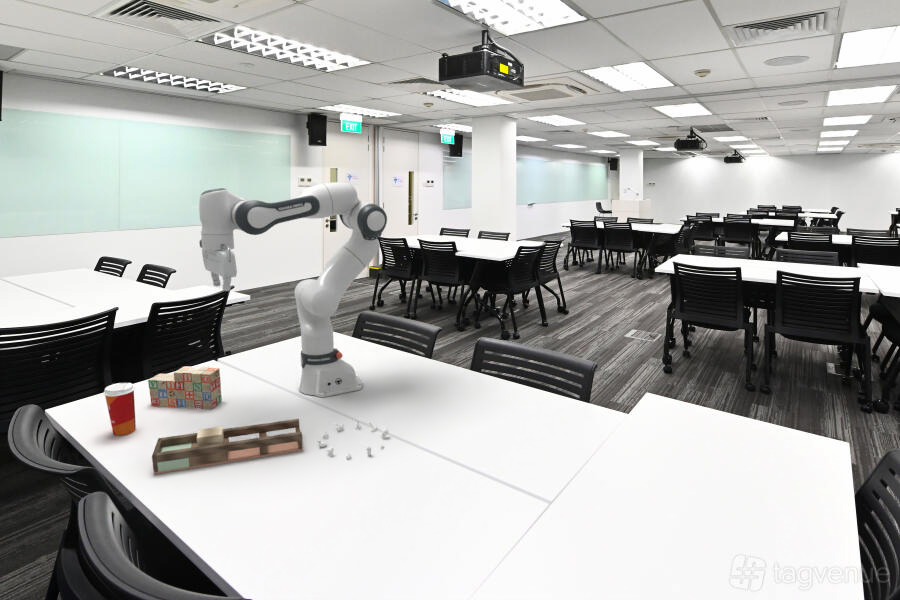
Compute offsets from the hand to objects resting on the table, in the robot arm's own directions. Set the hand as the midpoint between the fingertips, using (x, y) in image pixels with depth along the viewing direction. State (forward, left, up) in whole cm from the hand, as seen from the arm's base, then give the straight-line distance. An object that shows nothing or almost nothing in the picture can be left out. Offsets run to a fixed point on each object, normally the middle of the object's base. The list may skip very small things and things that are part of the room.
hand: (221, 288), depth 157 cm
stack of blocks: (+14, -10, -41) cm, 44 cm away
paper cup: (+29, +6, -40) cm, 50 cm away
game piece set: (-33, +35, -41) cm, 63 cm away
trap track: (-1, +30, -40) cm, 50 cm away
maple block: (+4, +30, -37) cm, 48 cm away
